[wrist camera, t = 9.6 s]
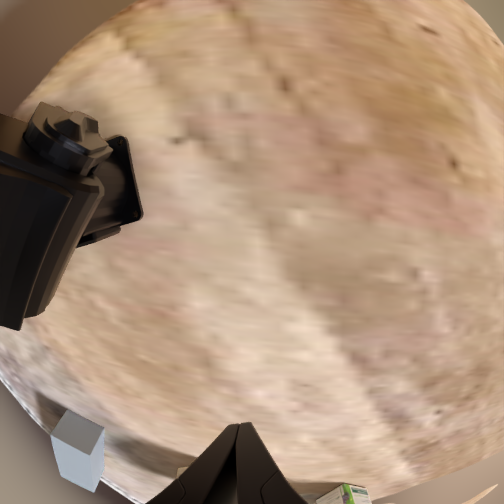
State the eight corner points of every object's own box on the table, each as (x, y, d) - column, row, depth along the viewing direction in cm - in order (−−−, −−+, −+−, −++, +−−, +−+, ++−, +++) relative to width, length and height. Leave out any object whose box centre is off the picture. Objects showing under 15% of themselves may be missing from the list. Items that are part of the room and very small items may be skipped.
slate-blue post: (50, 434, 20) (61, 476, 22) (89, 455, 20) (94, 492, 23) (68, 408, 25) (73, 453, 27) (105, 426, 25) (104, 468, 27)
